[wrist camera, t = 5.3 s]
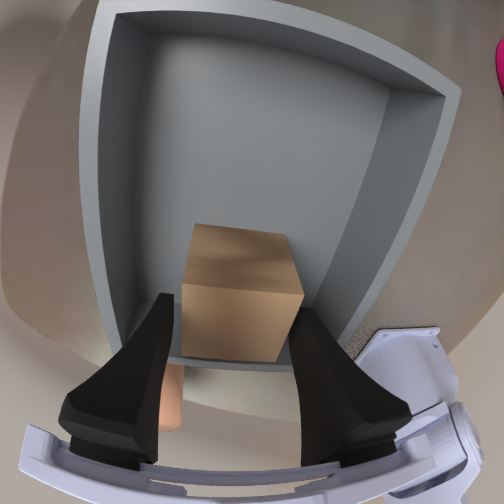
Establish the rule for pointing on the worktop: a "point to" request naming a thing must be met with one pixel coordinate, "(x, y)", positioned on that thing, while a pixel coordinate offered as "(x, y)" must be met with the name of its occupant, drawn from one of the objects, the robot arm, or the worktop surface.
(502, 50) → the pepper mill
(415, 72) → the gray tote
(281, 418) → the worktop surface
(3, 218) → the worktop surface
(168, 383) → the terracotta cylinder
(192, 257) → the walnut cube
